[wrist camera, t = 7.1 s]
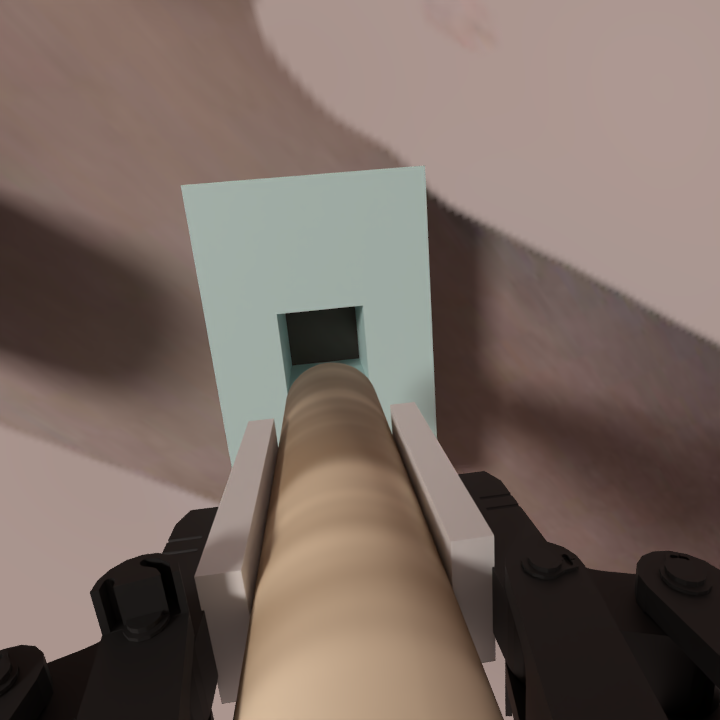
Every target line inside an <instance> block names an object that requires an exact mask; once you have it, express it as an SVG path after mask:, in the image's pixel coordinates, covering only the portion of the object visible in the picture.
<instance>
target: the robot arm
mask: <svg viewBox="0 0 720 720" xmlns="http://www.w3.org/2000/svg"><path fill="white" fill-rule="evenodd" d="M390 409H391V423H392V435H393V437H394V440H395V442H396V445H397V448H398V450H399V453H400V455H401V458H402V460H403V463H404V465H405V468H406V471H407V473H408V476H409V478H410V481H411V483H412V486H413V489H414V491H415V494H416V496H417V499H418V501H419V504H420V506H421V509H422V512H423V514H424V517H425V519H426V522H427V524H428V527H429V530H430V532H431V535H432V537H433V540H434V542H435V545H436V547H437V550H438V553H439V555H440V558H441V560H442V563H443V565H444V568H445V571H446V573H447V576H448V578H449V581H450V583H451V586H452V588H453V591H454V594H455V596H456V599H457V601H458V604H459V606H460V609H461V612H462V614H463V617H464V619H465V622H466V624H467V627H468V629H469V632H470V635H471V637H472V640H473V642H474V645H475V647H476V650H477V653H478V655H479V658H480V660H481V663H485V662H491V661H495V638H496V640H497V642H498V645H499V647H500V649H501V651H502V653H503V656H504V658H505V674H506V675H505V697H506V698H505V704H506V716H512V713H513V718H514V720H720V570H719V569H717V568H715V567H714V566H712V565H710V564H709V563H707V562H706V561H703V560H701V559H698V558H695V557H693V556H690V555H687V554H683V553H678V552H672V551H655V552H651V553H648V554H646V555H644V556H642V557H641V559H640V560H639V561H638V563H637V568H636V574H627V573H617V572H607V571H599V570H593V569H589V568H586V567H585V565H584V564H583V563H582V562H581V560H580V559H579V558H578V557H577V556H576V555H575V554H574V553H572V552H570V551H569V550H567V549H566V548H564V547H562V546H559V545H556V544H553V543H550V542H547V541H546V540H545V538H544V537H543V536H542V534H541V533H540V532H539V530H538V529H537V528H536V527H535V525H534V524H533V523H532V521H531V520H530V519H529V517H528V516H527V515H526V513H525V512H524V511H523V509H522V508H521V507H520V506H519V505H518V503H517V501H516V500H515V499H514V497H513V496H511V495H510V492H509V491H508V489H507V488H506V487H505V485H504V484H503V483H502V482H501V480H499V479H497V478H495V477H494V476H492V475H490V474H489V473H487V472H485V471H482V472H474V473H466V474H457V472H456V471H455V469H454V467H453V466H452V464H451V462H450V461H449V459H448V457H447V455H446V454H445V452H444V450H443V449H442V447H441V445H440V444H439V442H438V440H437V439H436V437H435V435H434V434H433V432H432V430H431V429H430V427H429V425H428V424H427V422H426V420H425V419H424V417H423V415H422V414H421V412H420V410H419V409H418V407H417V405H416V403H415V402H410V403H401V404H392V405H390ZM277 453H278V442H277V435H276V429H275V422H274V418H272V419H264V420H255V421H248V424H247V427H246V430H245V433H244V436H243V439H242V441H241V444H240V447H239V450H238V453H237V456H236V459H235V462H234V464H233V467H232V470H231V473H230V476H229V479H228V482H227V484H226V487H225V490H224V493H223V496H222V499H221V502H220V505H219V507H213V508H205V509H198V510H191V511H190V512H189V513H188V514H186V515H185V516H184V517H183V518H182V519H181V520H180V521H179V522H178V523H177V524H176V525H175V527H174V529H173V531H172V534H171V536H170V538H169V540H168V541H169V542H168V543H167V544H166V546H165V549H164V551H163V553H162V554H161V553H154V554H146V555H141V556H138V557H135V558H132V559H129V560H126V561H124V562H123V563H121V564H119V565H117V566H116V567H114V568H112V569H110V570H109V571H108V572H107V573H106V574H105V575H103V576H102V577H101V578H100V579H99V580H98V581H97V582H96V584H95V585H94V587H93V589H92V590H91V591H90V594H91V598H92V601H93V605H94V608H95V612H96V615H97V619H98V622H99V625H100V629H101V632H102V638H101V641H100V642H98V643H96V644H94V645H92V646H90V647H87V648H85V649H83V650H80V651H78V652H75V653H72V654H70V655H67V656H65V657H62V658H60V659H57V660H54V661H52V662H49V663H46V659H45V657H44V654H43V652H42V651H41V650H39V649H38V648H37V647H36V646H28V645H19V646H15V647H11V648H6V649H3V650H0V720H214V718H213V713H212V709H211V708H212V703H213V699H214V694H215V689H216V685H217V683H218V688H219V692H220V697H221V702H222V704H224V703H230V702H236V699H237V693H238V687H239V681H240V675H241V669H242V663H243V657H244V651H245V645H246V639H247V633H248V627H249V621H250V615H251V609H252V603H253V597H254V591H255V585H256V579H257V573H258V567H259V561H260V555H261V549H262V543H263V537H264V531H265V525H266V519H267V513H268V507H269V501H270V495H271V489H272V483H273V477H274V471H275V465H276V459H277Z"/></svg>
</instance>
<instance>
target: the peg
mask: <svg viewBox="0 0 720 720" xmlns="http://www.w3.org/2000/svg"><path fill="white" fill-rule="evenodd" d="M233 720H504V719H503V717H502V714H501V712H500V709H499V706H498V704H497V702H496V699H495V696H494V694H493V691H492V688H491V686H490V683H489V681H488V678H487V676H486V673H485V671H484V668H483V665H482V663H481V660H480V658H479V655H478V653H477V650H476V647H475V645H474V642H473V640H472V637H471V635H470V632H469V629H468V627H467V624H466V622H465V619H464V617H463V614H462V612H461V609H460V606H459V604H458V601H457V599H456V596H455V594H454V591H453V588H452V586H451V583H450V581H449V578H448V576H447V573H446V571H445V568H444V565H443V563H442V560H441V558H440V555H439V553H438V550H437V547H436V545H435V542H434V540H433V537H432V535H431V532H430V530H429V527H428V524H427V522H426V519H425V517H424V514H423V512H422V509H421V506H420V504H419V501H418V499H417V496H416V494H415V491H414V489H413V486H412V483H411V481H410V478H409V476H408V473H407V471H406V468H405V465H404V463H403V460H402V458H401V455H400V453H399V450H398V448H397V445H396V442H395V440H394V437H393V435H392V432H391V430H390V427H389V424H388V422H387V419H386V417H385V414H384V412H383V409H382V407H381V404H380V401H379V399H378V396H377V394H376V391H375V389H374V387H373V385H372V383H371V382H370V380H369V379H368V378H367V377H366V376H365V375H364V374H363V373H362V372H360V371H359V370H358V369H356V368H354V367H352V366H349V365H346V364H342V363H324V364H319V365H316V366H314V367H311V368H309V369H308V370H306V371H305V372H303V373H302V374H301V375H300V376H299V377H298V378H297V379H296V380H295V381H294V383H293V384H292V386H291V388H290V390H289V392H288V395H287V399H286V405H285V411H284V417H283V423H282V429H281V435H280V441H279V447H278V453H277V459H276V465H275V471H274V477H273V483H272V489H271V495H270V501H269V507H268V513H267V519H266V525H265V531H264V537H263V543H262V549H261V555H260V561H259V567H258V573H257V579H256V585H255V591H254V597H253V603H252V609H251V615H250V621H249V627H248V633H247V639H246V645H245V651H244V657H243V663H242V669H241V675H240V681H239V687H238V693H237V699H236V705H235V711H234V717H233Z"/></svg>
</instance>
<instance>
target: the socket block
mask: <svg viewBox="0 0 720 720" xmlns="http://www.w3.org/2000/svg"><path fill="white" fill-rule="evenodd" d="M181 189H182V195H183V200H184V206H185V211H186V217H187V222H188V228H189V233H190V239H191V244H192V250H193V255H194V261H195V267H196V272H197V278H198V283H199V289H200V294H201V300H202V305H203V311H204V316H205V322H206V327H207V333H208V338H209V344H210V349H211V355H212V360H213V366H214V372H215V377H216V383H217V388H218V394H219V399H220V405H221V410H222V416H223V421H224V427H225V432H226V438H227V443H228V449H229V454H230V460H231V465H232V467H233V464H234V462H235V459H236V456H237V453H238V450H239V447H240V444H241V441H242V439H243V436H244V433H245V430H246V427H247V424H248V421H255V420H264V419H272V418H274V422H275V429H276V435H277V442H278V447H279V441H280V435H281V429H282V423H283V417H284V411H285V405H286V399H287V395H288V392H289V390H290V388H291V386H292V384H293V383H294V381H295V380H296V379H297V378H298V377H299V376H300V375H301V374H302V373H303V372H305V371H306V370H308V369H309V368H311V367H314V366H316V365H319V364H324V363H342V364H346V365H349V366H352V367H354V368H356V369H358V370H359V371H360V372H362V373H363V374H364V375H365V376H366V377H367V378H368V379H369V380H370V382H371V383H372V385H373V387H374V389H375V391H376V394H377V396H378V399H379V401H380V404H381V407H382V409H383V412H384V414H385V417H386V419H387V422H388V424H389V427H390V430H391V432H392V423H391V409H390V405H392V404H401V403H410V402H415V403H416V405H417V407H418V409H419V410H420V412H421V414H422V415H423V417H424V419H425V420H426V422H427V424H428V425H429V427H430V429H431V430H432V432H433V434H434V435H435V437H436V439H437V430H436V407H435V384H434V362H433V339H432V316H431V293H430V270H429V247H428V224H427V201H426V178H425V166H414V167H401V168H389V169H377V170H364V171H352V172H340V173H327V174H315V175H303V176H290V177H278V178H265V179H253V180H241V181H228V182H216V183H204V184H191V185H181ZM353 306H355V314H356V325H357V336H358V348H359V358H357V359H347V360H338V361H329V362H320V363H311V364H302V365H293V366H292V360H291V352H290V345H289V337H288V329H287V322H286V314H285V313H293V312H303V311H313V310H323V309H333V308H343V307H353Z"/></svg>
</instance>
